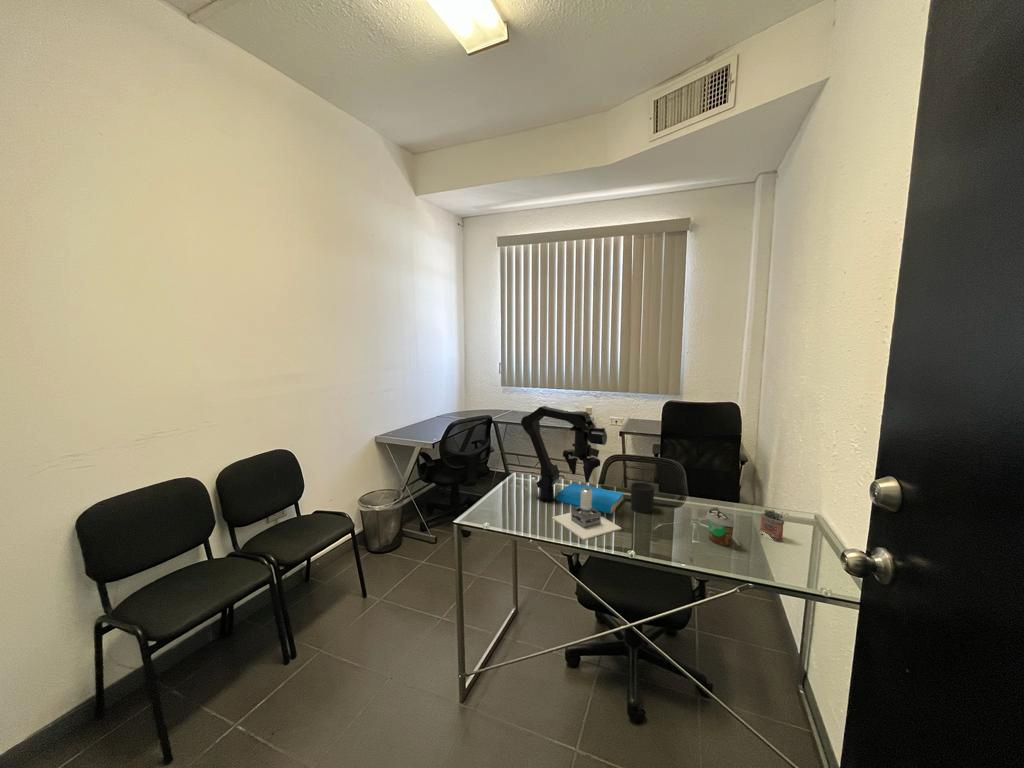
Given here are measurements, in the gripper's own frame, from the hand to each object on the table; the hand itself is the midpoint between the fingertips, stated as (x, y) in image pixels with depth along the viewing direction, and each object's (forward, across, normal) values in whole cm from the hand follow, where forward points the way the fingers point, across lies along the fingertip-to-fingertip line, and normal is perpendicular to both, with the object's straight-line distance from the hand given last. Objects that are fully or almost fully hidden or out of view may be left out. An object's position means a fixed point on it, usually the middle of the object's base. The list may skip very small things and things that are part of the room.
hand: (580, 477), depth 171 cm
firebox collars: (+13, -14, +8) cm, 21 cm away
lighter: (+13, -54, -45) cm, 72 cm away
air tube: (+12, -14, +8) cm, 20 cm away
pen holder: (+13, -14, -22) cm, 29 cm away
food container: (+13, -46, -25) cm, 54 cm away
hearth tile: (+13, -14, +8) cm, 21 cm away
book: (+14, +3, -8) cm, 16 cm away
